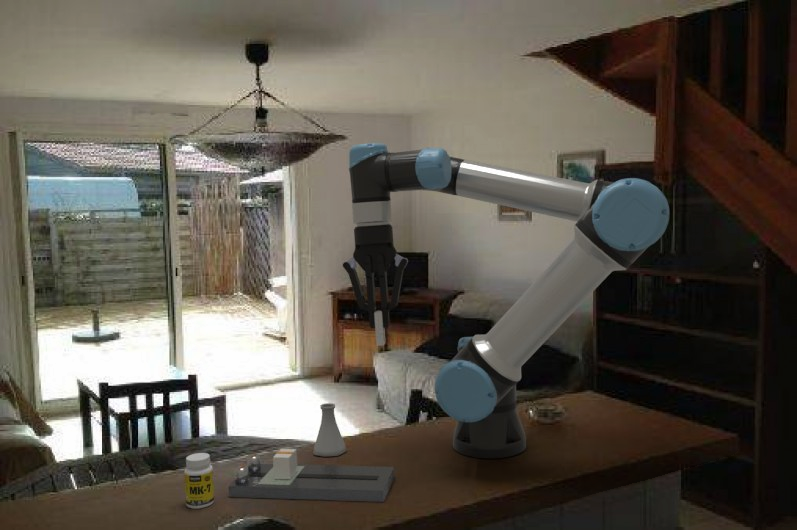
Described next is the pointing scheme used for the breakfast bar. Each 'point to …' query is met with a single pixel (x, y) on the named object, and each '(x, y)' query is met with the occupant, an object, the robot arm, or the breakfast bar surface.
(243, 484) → the console
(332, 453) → the flask
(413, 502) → the breakfast bar surface
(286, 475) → the fader
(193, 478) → the supplement bottle
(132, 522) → the breakfast bar surface
